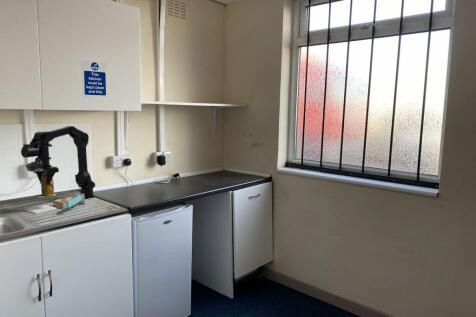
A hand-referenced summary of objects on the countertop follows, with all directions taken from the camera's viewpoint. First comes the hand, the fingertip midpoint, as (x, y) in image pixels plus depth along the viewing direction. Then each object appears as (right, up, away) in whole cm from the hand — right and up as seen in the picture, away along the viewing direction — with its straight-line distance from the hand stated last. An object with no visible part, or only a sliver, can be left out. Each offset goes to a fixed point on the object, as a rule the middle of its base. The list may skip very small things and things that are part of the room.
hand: (44, 184), depth 194 cm
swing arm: (+15, -10, +1) cm, 19 cm away
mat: (-2, -14, 0) cm, 14 cm away
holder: (+8, -12, +10) cm, 18 cm away
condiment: (0, -6, +1) cm, 6 cm away
